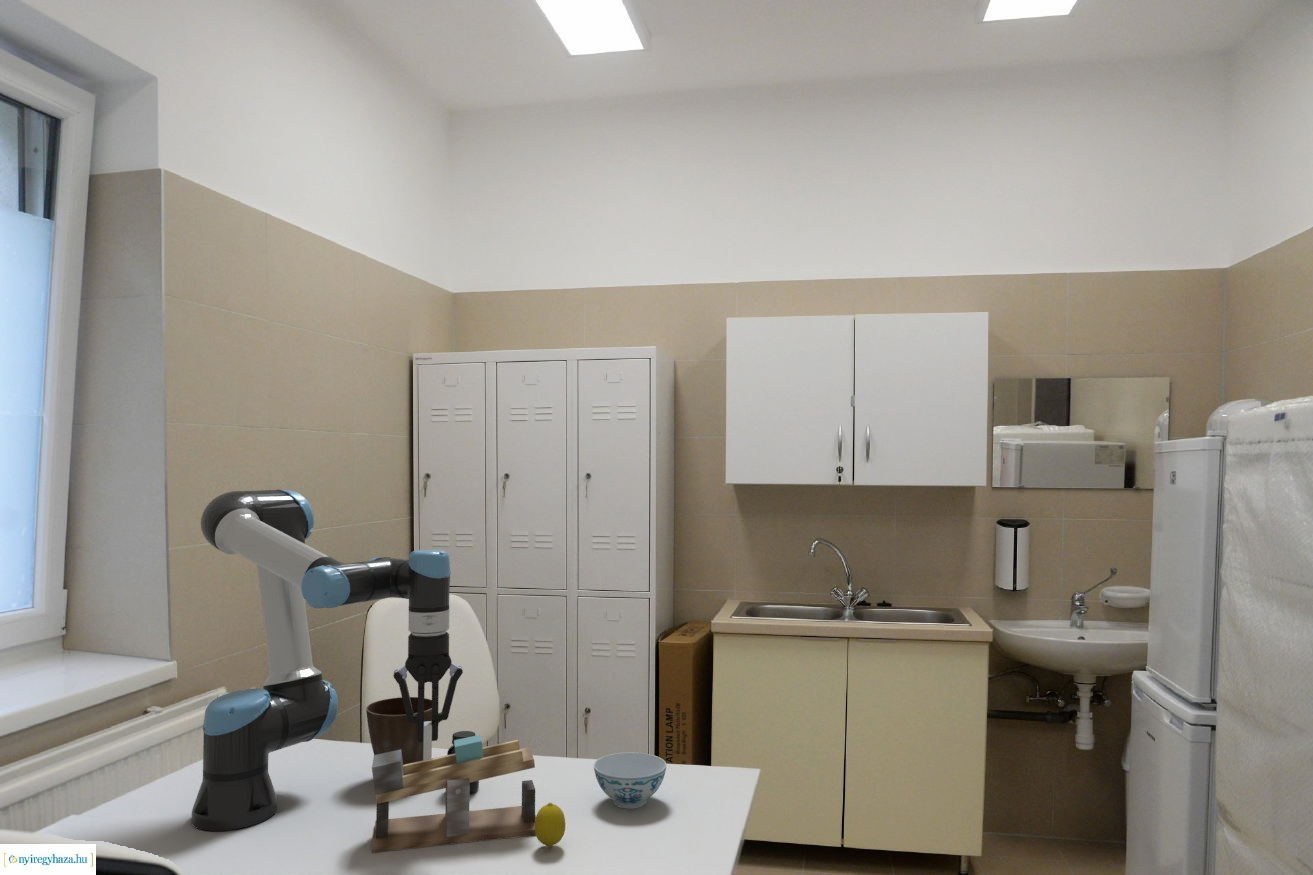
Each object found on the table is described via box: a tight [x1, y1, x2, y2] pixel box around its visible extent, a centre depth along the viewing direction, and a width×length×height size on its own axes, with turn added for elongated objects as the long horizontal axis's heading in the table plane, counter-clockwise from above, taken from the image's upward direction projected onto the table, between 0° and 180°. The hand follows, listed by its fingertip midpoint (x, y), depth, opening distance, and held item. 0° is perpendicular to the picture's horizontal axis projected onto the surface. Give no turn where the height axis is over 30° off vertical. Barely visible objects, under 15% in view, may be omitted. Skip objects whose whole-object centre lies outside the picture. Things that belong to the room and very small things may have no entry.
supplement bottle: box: [446, 730, 480, 796], centre depth 183 cm, size 7×7×12 cm
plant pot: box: [365, 696, 432, 765], centre depth 190 cm, size 15×15×16 cm
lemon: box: [535, 802, 566, 849], centre depth 155 cm, size 6×6×8 cm
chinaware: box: [593, 751, 667, 809], centre depth 177 cm, size 15×15×8 cm
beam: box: [371, 739, 536, 805], centre depth 163 cm, size 29×7×7 cm, turn 105°
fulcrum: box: [371, 778, 537, 854], centre depth 163 cm, size 30×12×11 cm, turn 105°
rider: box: [454, 734, 484, 763], centre depth 164 cm, size 5×4×5 cm
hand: (427, 758), depth 162 cm, fingers closed
